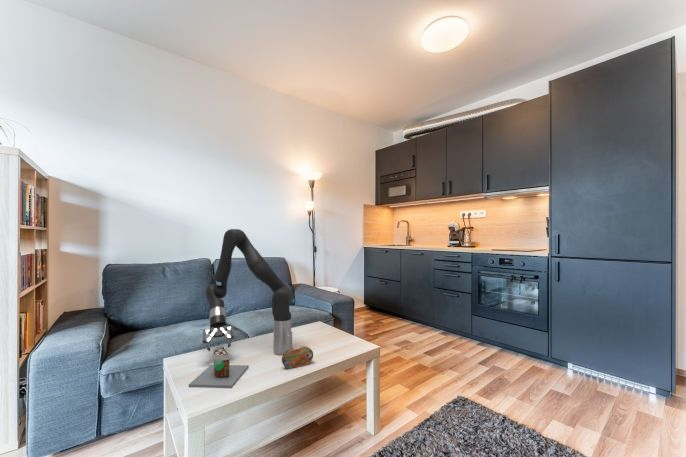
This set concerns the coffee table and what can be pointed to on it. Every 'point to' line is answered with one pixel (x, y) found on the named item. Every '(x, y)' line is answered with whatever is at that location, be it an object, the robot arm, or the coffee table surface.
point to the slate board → (212, 381)
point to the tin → (297, 357)
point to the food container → (221, 362)
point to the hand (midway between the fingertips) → (219, 348)
